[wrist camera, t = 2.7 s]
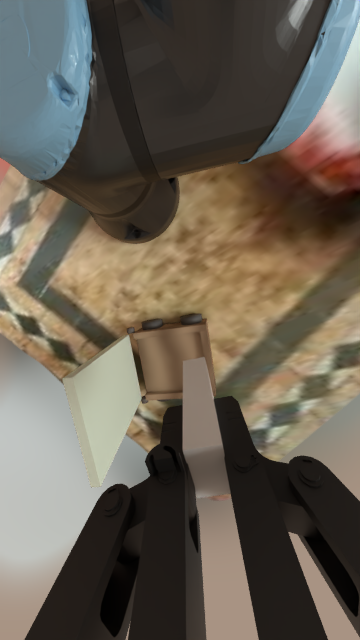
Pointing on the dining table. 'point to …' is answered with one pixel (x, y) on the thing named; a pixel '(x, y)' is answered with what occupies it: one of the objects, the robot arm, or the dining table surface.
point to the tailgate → (103, 404)
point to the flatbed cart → (171, 354)
